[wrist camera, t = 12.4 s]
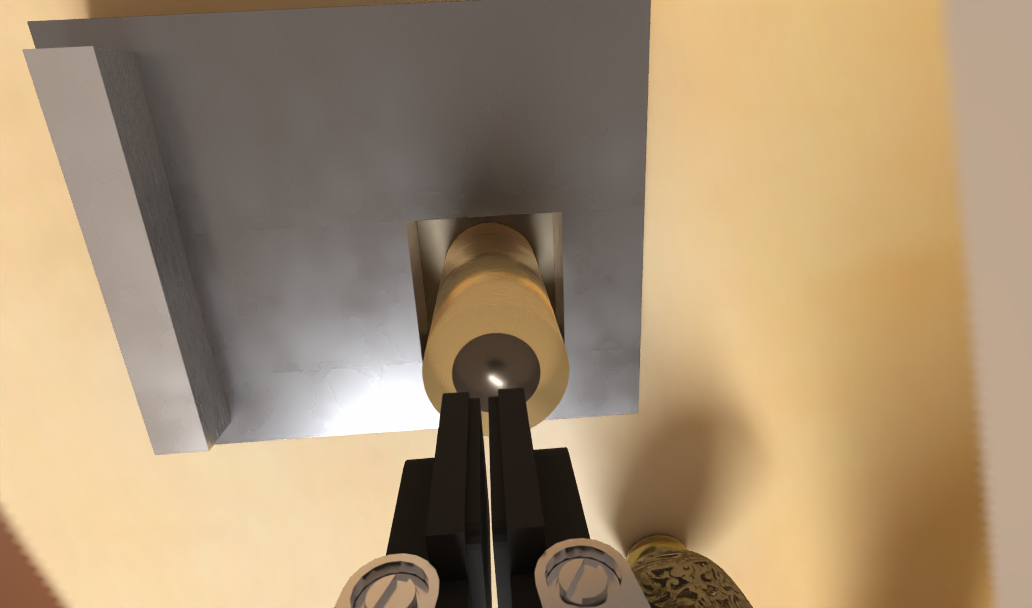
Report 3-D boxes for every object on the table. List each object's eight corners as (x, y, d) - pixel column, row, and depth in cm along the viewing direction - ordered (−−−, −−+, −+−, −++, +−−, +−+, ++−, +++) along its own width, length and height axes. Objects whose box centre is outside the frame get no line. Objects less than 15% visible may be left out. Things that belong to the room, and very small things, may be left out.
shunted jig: (621, 380, 27) (651, 439, 22) (197, 410, 26) (135, 479, 21) (628, 5, 21) (669, -20, 17) (89, 31, 21) (-27, 12, 16)
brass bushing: (537, 307, 25) (570, 431, 16) (449, 313, 25) (430, 442, 16) (534, 220, 24) (568, 300, 15) (440, 225, 24) (413, 310, 14)
